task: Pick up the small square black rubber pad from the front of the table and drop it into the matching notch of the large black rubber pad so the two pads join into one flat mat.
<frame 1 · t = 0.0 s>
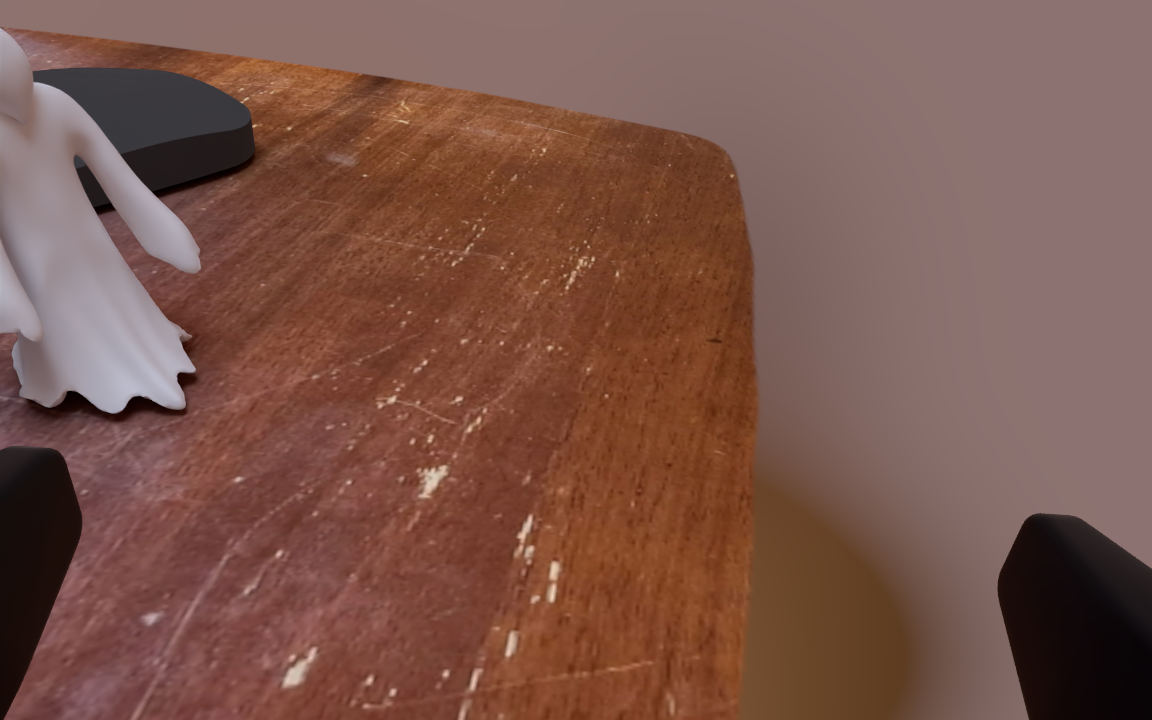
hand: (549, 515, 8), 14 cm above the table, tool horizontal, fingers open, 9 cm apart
figurine: (112, 378, 33), on the table
media streaming box: (90, 159, 49), on the table
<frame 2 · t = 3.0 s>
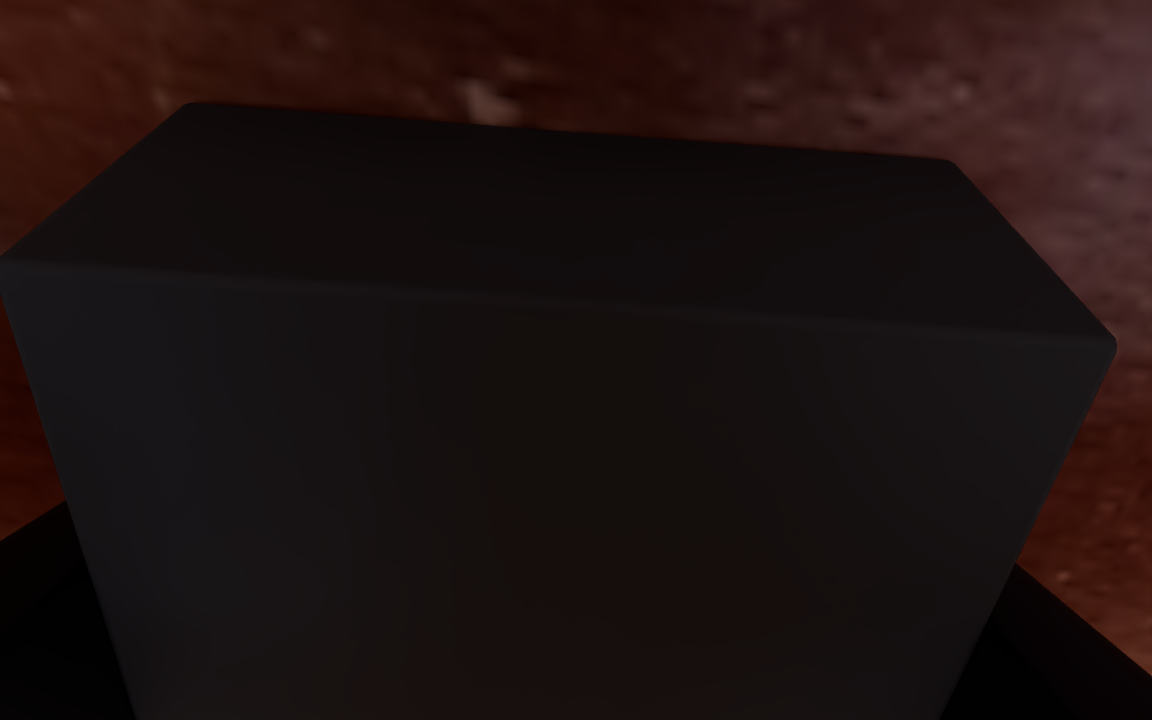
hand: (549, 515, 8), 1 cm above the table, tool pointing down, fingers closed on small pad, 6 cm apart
small pad: (551, 433, 9), on the table, touching gripper
when the fingers open (1 cm above the table, at t = 8.5 s): small pad stays where it is, on the table.
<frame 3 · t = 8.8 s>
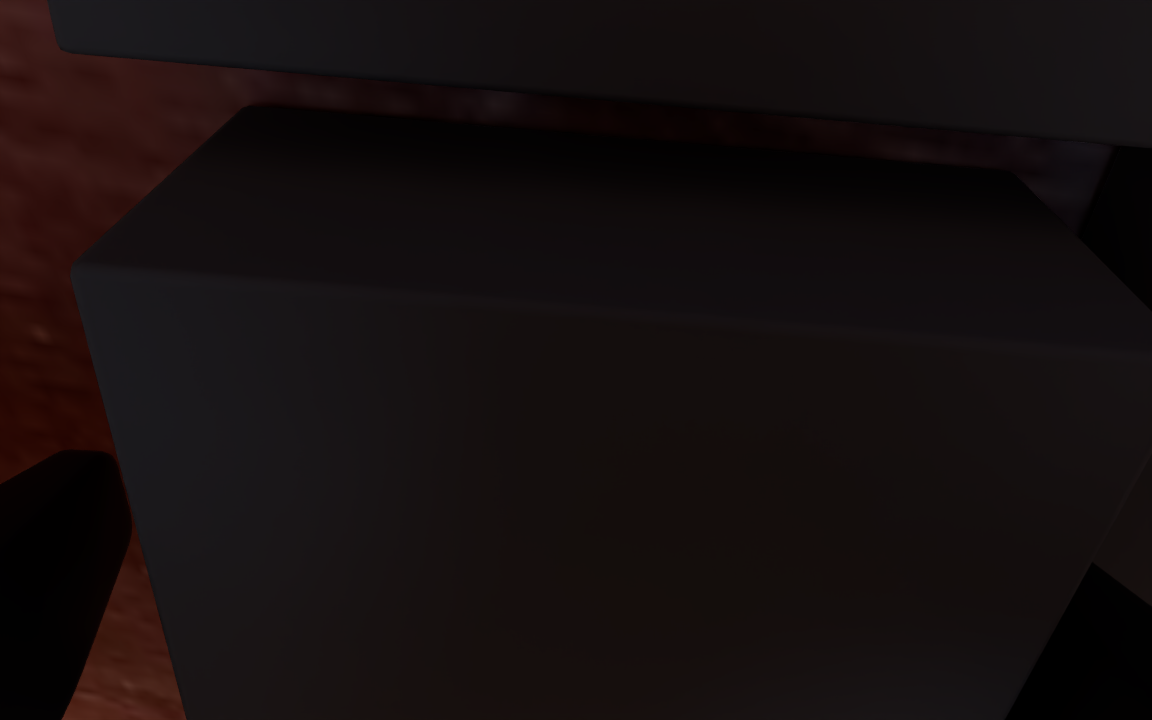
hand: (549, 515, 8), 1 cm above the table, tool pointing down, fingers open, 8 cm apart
small pad: (596, 439, 9), on the table
big pad: (838, 458, 9), on the table
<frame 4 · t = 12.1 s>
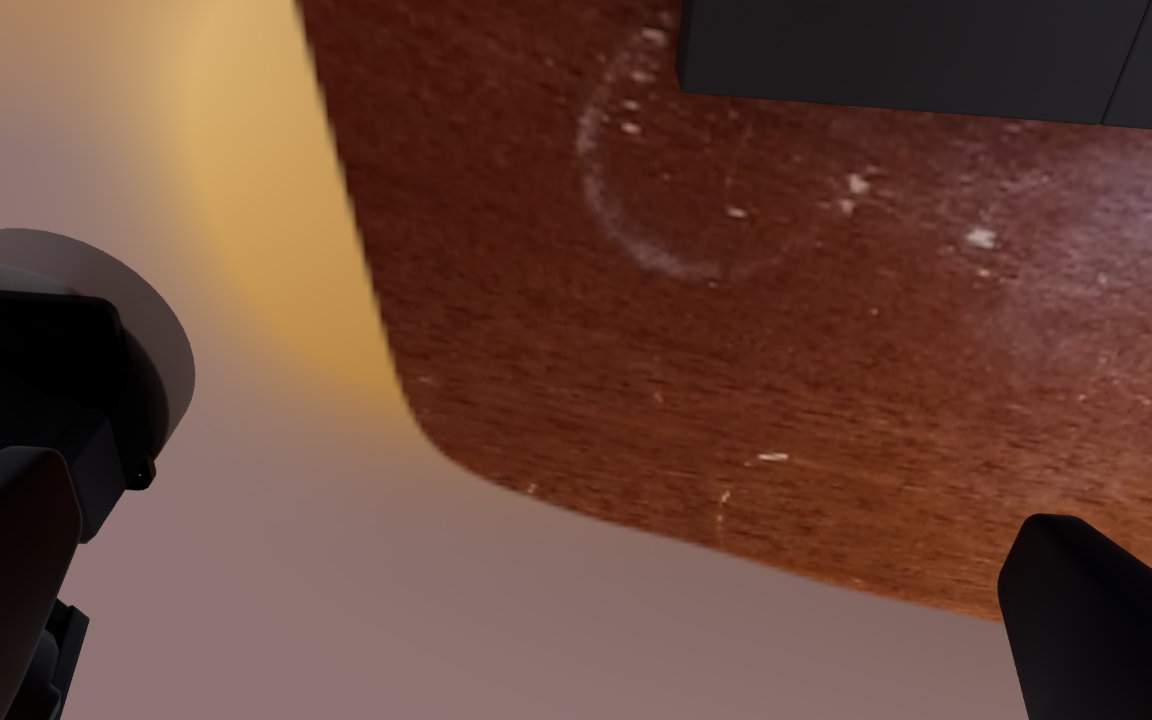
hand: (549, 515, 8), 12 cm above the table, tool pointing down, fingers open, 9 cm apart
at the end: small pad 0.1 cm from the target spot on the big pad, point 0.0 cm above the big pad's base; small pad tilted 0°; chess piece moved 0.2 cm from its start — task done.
